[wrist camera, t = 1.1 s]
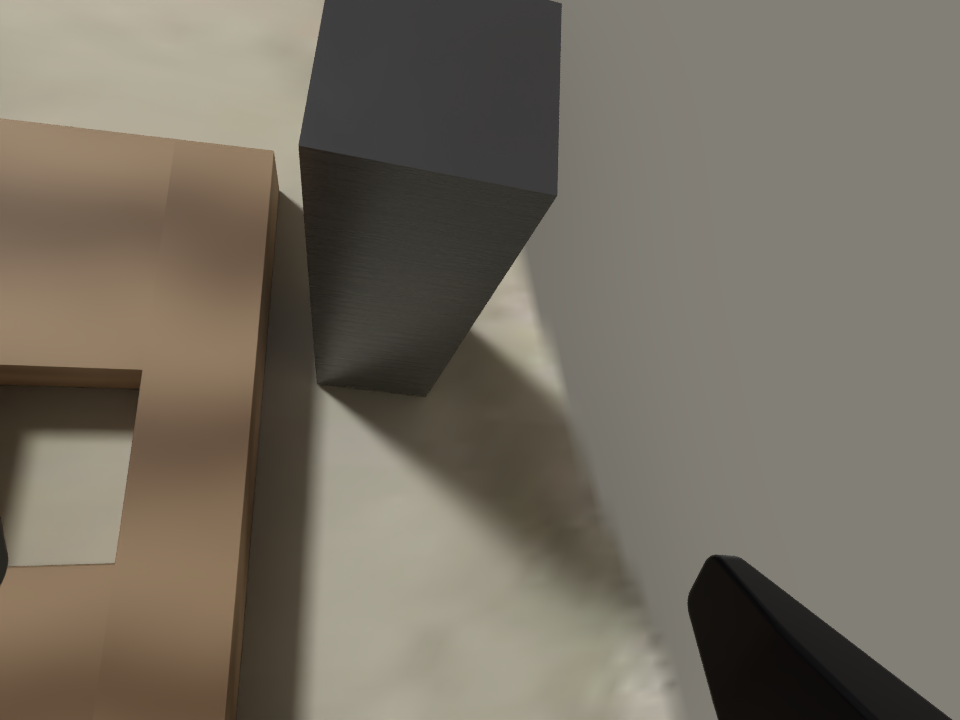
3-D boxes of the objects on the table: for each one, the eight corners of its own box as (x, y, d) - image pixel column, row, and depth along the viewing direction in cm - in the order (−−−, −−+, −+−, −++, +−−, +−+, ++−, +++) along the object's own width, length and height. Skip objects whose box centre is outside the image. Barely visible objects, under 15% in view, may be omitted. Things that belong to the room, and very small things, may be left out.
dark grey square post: (425, 396, 23) (557, 195, 10) (316, 383, 22) (298, 145, 9) (434, 299, 24) (561, 3, 11) (331, 283, 23) (335, -57, 10)
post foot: (224, 859, 17) (207, 908, 15) (-309, 933, 14) (-430, 1007, 12) (279, 189, 24) (273, 150, 21) (-84, 151, 21) (-136, 102, 18)
